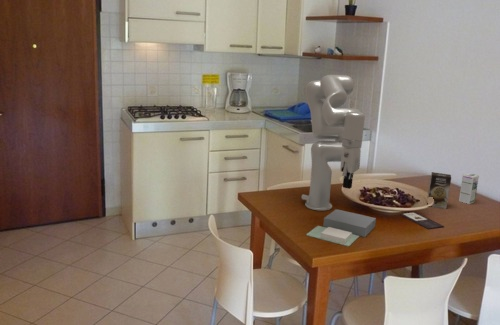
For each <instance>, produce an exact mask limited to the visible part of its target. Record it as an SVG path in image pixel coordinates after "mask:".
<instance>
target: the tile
mask: <svg viewBox="0 0 500 325" xmlns="http://www.w3.org/2000/svg"><path fill="white" fill-rule="evenodd" d="M325 228H326V227H325ZM351 237H352V232H348V231H344V230H340V229H335V228H331V227H328V228H326V229H325V230H324V231H323V232H322V233H321V238H324V239H328V240H332V241H336V242H340V243H344V244H345V243H346V242H347V241H348V240H349V239H350V238H351Z"/></svg>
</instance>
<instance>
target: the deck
mask: <svg viewBox="0 0 500 325" xmlns="http://www.w3.org/2000/svg"><path fill="white" fill-rule="evenodd" d="M376 221H377V218H376V217H371V216H368V215H364V214H359V213H355V212H351V211H350V212H349V211H346V210H341V209H337V208H336V209H334V210H333V211H332V212H330V213H329V214H328V215H326V216H324V217H323V224H322V225H323V226H322V227H325V228H328V227H331V228H335V229H340V230H344V231H348V232H352V234H353V235H357V236H359V237H361V238H366V236H368V235H369V234H370V232H371V231H373V229H375V228H376Z"/></svg>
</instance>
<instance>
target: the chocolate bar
mask: <svg viewBox="0 0 500 325" xmlns="http://www.w3.org/2000/svg"><path fill="white" fill-rule="evenodd" d="M400 216H401V217H403V218H405V219H407V220H409V221H411V222H413V223H415V224H417V225H419V226H420V227H422V228H424V229H426V230H435V229H443V228H445V226H444V225H442V224H441V223H438V222H437V221H434V220H432V219H430V218H428V217H427V216H424V215H422V214H420V213H419V212H416V211H415V212H409V213H408V212H406V213H400Z"/></svg>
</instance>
